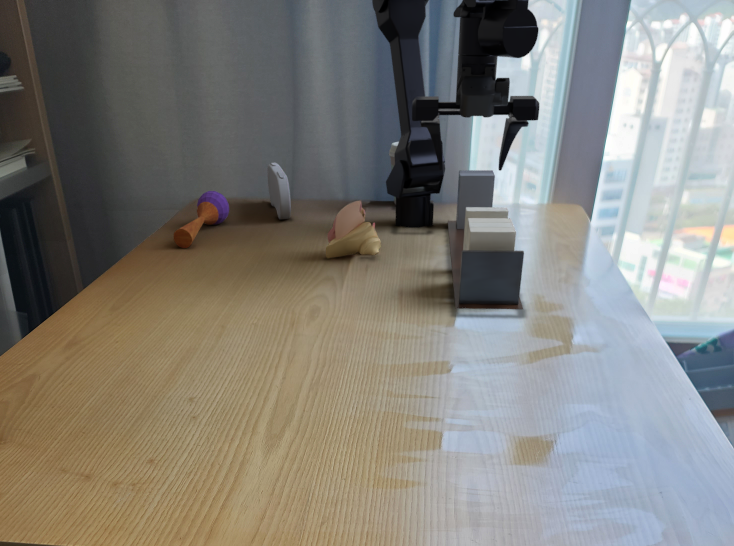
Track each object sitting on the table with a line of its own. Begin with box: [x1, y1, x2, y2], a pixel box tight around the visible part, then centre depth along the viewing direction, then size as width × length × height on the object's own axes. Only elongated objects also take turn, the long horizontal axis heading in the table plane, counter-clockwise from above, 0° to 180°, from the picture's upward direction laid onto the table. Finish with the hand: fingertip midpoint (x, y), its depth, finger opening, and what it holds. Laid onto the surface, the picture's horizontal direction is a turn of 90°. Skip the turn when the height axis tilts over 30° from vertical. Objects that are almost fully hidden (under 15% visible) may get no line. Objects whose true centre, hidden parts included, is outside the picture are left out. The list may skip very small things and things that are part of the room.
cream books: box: [466, 217, 517, 251], centre depth 103 cm, size 6×7×9 cm
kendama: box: [172, 190, 230, 249], centre depth 137 cm, size 6×6×20 cm
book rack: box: [447, 220, 525, 310], centre depth 118 cm, size 9×48×8 cm, turn 176°
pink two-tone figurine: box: [325, 199, 382, 259], centre depth 122 cm, size 9×10×10 cm
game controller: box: [267, 162, 292, 220], centre depth 149 cm, size 20×2×8 cm, turn 13°
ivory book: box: [463, 206, 509, 250], centre depth 111 cm, size 6×2×9 cm, turn 86°
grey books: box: [455, 169, 496, 229], centre depth 134 cm, size 6×5×9 cm
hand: (470, 170), depth 118 cm, fingers open, 9 cm apart
